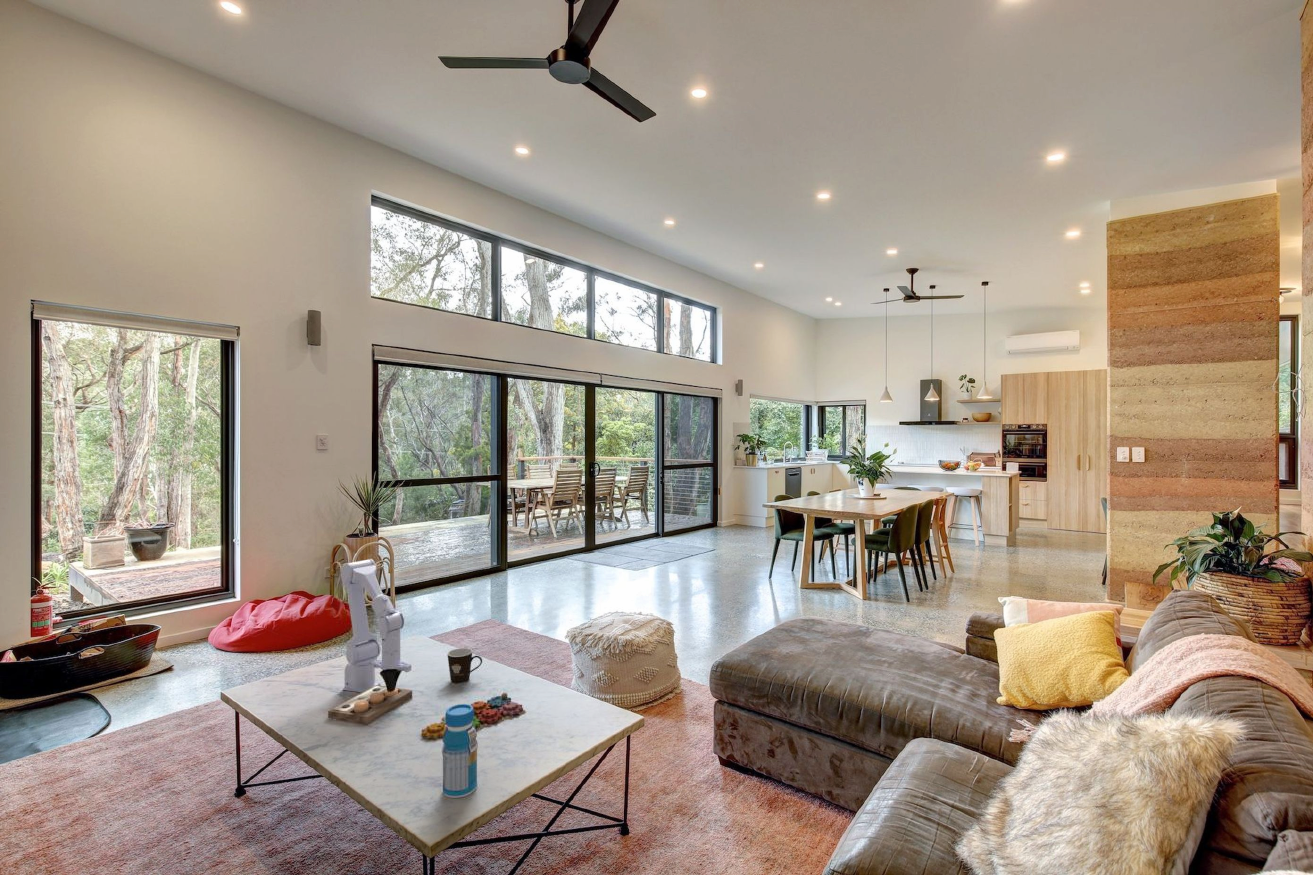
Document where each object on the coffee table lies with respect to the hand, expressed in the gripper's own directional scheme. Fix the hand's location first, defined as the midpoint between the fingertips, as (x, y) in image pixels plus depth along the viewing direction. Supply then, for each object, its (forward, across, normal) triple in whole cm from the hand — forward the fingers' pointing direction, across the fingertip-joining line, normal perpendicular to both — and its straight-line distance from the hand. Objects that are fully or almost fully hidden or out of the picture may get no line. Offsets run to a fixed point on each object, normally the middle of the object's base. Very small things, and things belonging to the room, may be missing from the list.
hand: (391, 690), depth 199 cm
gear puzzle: (+4, +33, -4) cm, 34 cm away
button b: (+1, 0, -6) cm, 7 cm away
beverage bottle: (+3, +52, -36) cm, 64 cm away
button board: (+3, -2, -6) cm, 7 cm away
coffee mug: (+3, +14, +20) cm, 25 cm away
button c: (+2, 0, 0) cm, 2 cm away
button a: (+1, 0, -13) cm, 13 cm away
